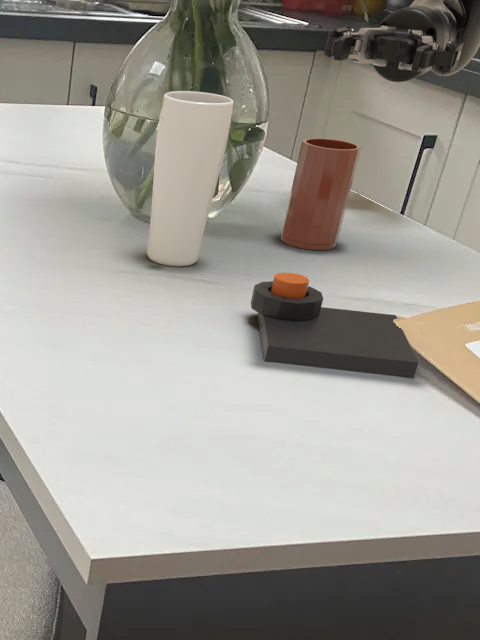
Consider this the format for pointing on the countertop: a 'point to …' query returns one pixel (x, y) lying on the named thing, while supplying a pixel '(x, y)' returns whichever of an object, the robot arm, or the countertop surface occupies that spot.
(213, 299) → the countertop surface
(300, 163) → the cup
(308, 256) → the countertop surface
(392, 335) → the scale
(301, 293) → the button
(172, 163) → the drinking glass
